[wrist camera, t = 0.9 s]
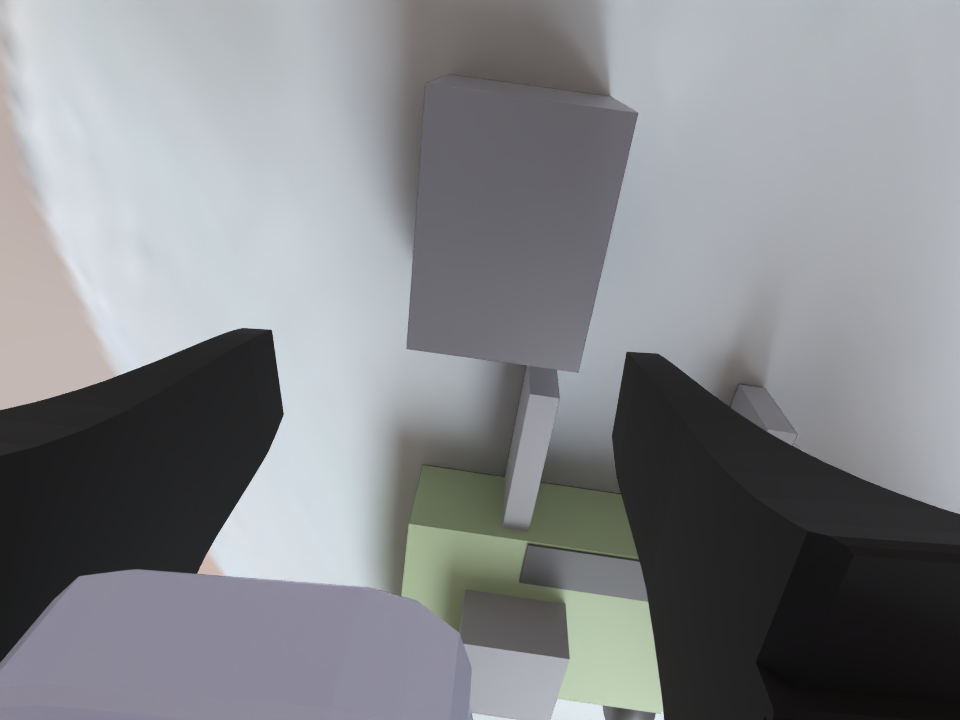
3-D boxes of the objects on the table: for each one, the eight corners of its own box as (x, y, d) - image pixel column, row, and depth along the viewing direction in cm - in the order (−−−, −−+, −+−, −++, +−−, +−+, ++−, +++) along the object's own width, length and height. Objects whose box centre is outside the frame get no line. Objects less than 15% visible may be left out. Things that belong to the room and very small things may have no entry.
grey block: (610, 96, 18) (638, 112, 14) (567, 305, 22) (578, 372, 17) (449, 73, 18) (425, 83, 14) (430, 286, 22) (406, 348, 17)
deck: (765, 388, 22) (838, 492, 17) (642, 677, 31) (666, 806, 26) (436, 338, 22) (410, 428, 17) (402, 642, 31) (378, 765, 25)
